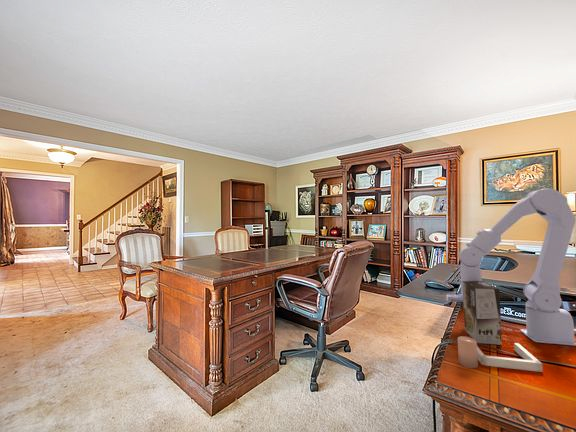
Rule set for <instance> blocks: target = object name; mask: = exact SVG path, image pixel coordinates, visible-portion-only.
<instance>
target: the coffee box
mask: <svg viewBox="0 0 576 432" xmlns="http://www.w3.org/2000/svg"><path fill="white" fill-rule="evenodd" d="M462 286H463V305H464V307H463V319H464V321H463V322H464V331H465V332H466V333H467V334H468V335H469V337H470V338H473V339H475V340H476V341H477V344H485V345H497V346H498V345H500V346H501V345H503V343H502V341H503V340H502V325H501V324H502V320H501V319H502V318H501V296H500V295H501V292H500V290H501V289H500V288H499V287H497V286H495V285H492V284H490V283H488V282H487V281H485V280H484V281H483V280H482V281H462ZM463 305H462V306H463Z"/></svg>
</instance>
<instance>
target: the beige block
mask: <svg viewBox="0 0 576 432" xmlns="http://www.w3.org/2000/svg"><path fill="white" fill-rule="evenodd" d="M477 347H478V343H477V341H476V340H475V339H473V338H472V337H471V336H466V335H464V336H463V335H462V336H460V335H459V336H458V337H457V352H458V354H457V355H458V364H460V365H461V366H463V367H465V368H469V369H477V368H478V367H479V360H478V355H477Z"/></svg>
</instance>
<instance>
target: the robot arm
mask: <svg viewBox="0 0 576 432" xmlns="http://www.w3.org/2000/svg"><path fill="white" fill-rule="evenodd" d="M533 214H538V215H539V216H541V217H542V218H543V219H544V220H545V221H546V222H547V223H548V224H547V227H546V229H545V230H546V231H545V235H544V238H543V241H542V242H543V243H542V245H541V250H540V252H539V256H538V260H537V264H536V267H535V271H534V273H533V274H532V275H531V276H530V279H529V281H528V283H527V284H525V285H524V287H523V289H522V291H523V295H524V296H525V297H526V298H527V301H526V302H525V305H524V306H525V321H526V322H525V323H526V328H525V329H524V328H521V329H519V331H520V332H521V333H522V334H524V335H525V336H526V337H528V338H529V339H531V340H532V342H534V343H542V344H543V343H544V344H552V345H553V344H554V345H564V346H566V345H567V346H573V347H575V346H576V341H575V340H576V339H575V325H574V320H573V319H574V318H573V316H572V315H571V313H570V312H569V311H568V310H566V309H563V308H560V307H561V306H562V304H563V300H562V298H561V294H560V292H561V290H562V289H561V283H560V276H561V273H562V270H563V266H564V261H565V258H566V255H567V251H568V248H569V245H570V241H571V238H572V234H573V231H574V227H575V225H576V224H575V223H576V217H575V215H574V212H573V211H572V208H571V207H570V205H569V203H568V197H567V196H566V195H564V194H563V193H561V192H560V191H559V190H557V189H554V188H542V189H538V190H533V191H530V192H529V193H527V194H526V195H525V196H524V197H523V198H521V199H519V200H518V201H517V202H516V203H515V204H513V206H511V208H509V210H507V212H505V214H504V215H503V216H502V217H501V218H499V219H498V221H496V223H494V225H493V226H492V227H491V228H484V229H483V230H481V231H480V230H479V231H477V232H476V235H475V237H474V238H473V239H472V240H471V241H470V242H466V243H465V247H462V248H461V250H460V251H459V254H458V257H459V259H460V266H459V267H460V271H459V273H460V274H459V275H460V290H461V291H460V292H461V293H459V294H446V297H445V298H446V301H447V303H461V305H462V307H463V308H464V305H463V286H462V281H483V279H482V269H481V263H482V262H483V257H484V256H487V255H488V254H489V253H490V252H491V251H492V250H493V249H495V248H496V247H497V246H498V245H499V244H500V243H501V242H502V235H504V233H505V232H506V231H508V230H509V229H510V228H511V227H513V226H514V225H515V224H516V223H517V222H518V221H519V220H521V218H523V217H527V216H529V215H533Z"/></svg>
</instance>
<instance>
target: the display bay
mask: <svg viewBox="0 0 576 432" xmlns="http://www.w3.org/2000/svg"><path fill="white" fill-rule="evenodd" d="M513 348H514V349H513V350H514V352H515V353H517V355H519V357H521V358H515V357H514V358H512V357H504V356H503V357H502V356H495V355H485V354H484V352H483V351H482V350H481V349H480V348H479V347H478V346H477V355H478V362H479V363H480V364H481V365H482V366H487V367H496V368H504V369H512V370H513V369H514V370H522V371H529V372H530V371H531V372H539V373H543V363H542V362H541V361H540V360H539V359H537V357H535V356H534V355H533V354H532V353H531V352H529V351H528V350H527V349H526V348H525V347H524V346H522V345H521V344H520V343H519V342H514V343H513Z"/></svg>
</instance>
